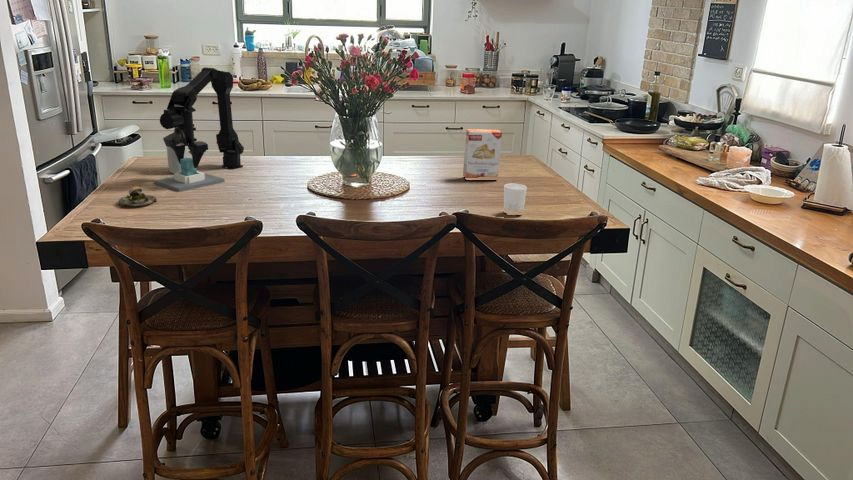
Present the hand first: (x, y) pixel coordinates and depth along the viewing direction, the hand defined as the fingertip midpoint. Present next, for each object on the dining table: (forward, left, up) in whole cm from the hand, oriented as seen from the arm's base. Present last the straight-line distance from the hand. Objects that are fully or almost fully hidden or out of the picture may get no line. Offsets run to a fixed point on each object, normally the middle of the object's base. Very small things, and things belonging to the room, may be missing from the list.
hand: (188, 165), depth 252 cm
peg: (0, 0, -5) cm, 5 cm away
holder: (0, 0, -7) cm, 7 cm away
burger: (+28, +11, -7) cm, 31 cm away
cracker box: (-87, +77, -7) cm, 116 cm away
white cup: (-55, +111, -7) cm, 124 cm away
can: (-6, -16, -7) cm, 18 cm away
